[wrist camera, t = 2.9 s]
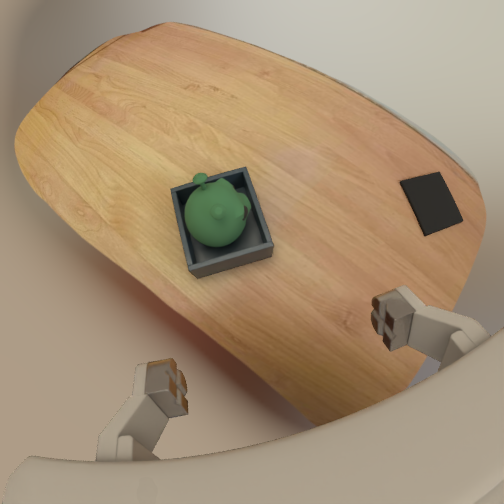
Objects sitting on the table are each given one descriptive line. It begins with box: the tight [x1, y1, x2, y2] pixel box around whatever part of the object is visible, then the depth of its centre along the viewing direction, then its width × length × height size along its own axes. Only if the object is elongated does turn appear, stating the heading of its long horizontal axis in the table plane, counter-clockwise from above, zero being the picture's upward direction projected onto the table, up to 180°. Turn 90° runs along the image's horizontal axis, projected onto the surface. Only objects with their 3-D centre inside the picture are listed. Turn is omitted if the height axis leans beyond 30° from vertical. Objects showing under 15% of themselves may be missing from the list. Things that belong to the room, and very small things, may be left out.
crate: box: [170, 167, 274, 279], centre depth 36 cm, size 11×10×4 cm
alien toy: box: [185, 173, 251, 247], centre depth 33 cm, size 7×8×10 cm
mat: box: [400, 172, 463, 236], centre depth 38 cm, size 9×9×1 cm
